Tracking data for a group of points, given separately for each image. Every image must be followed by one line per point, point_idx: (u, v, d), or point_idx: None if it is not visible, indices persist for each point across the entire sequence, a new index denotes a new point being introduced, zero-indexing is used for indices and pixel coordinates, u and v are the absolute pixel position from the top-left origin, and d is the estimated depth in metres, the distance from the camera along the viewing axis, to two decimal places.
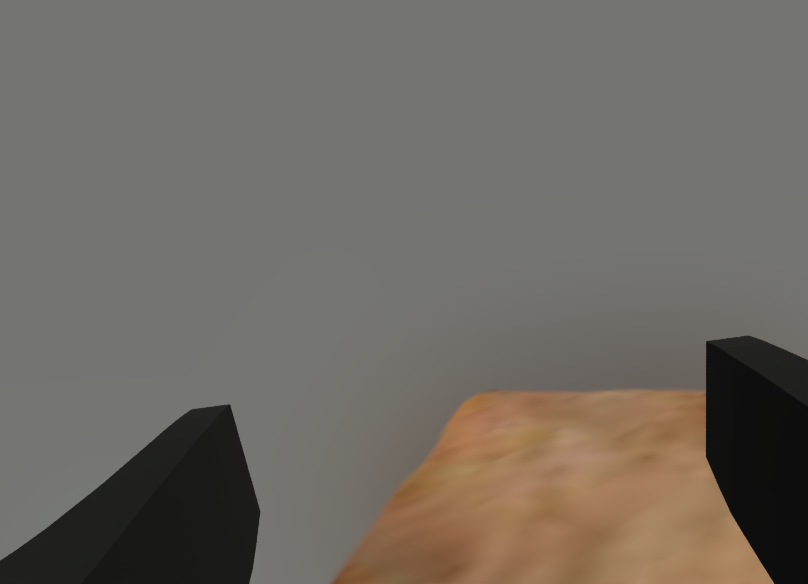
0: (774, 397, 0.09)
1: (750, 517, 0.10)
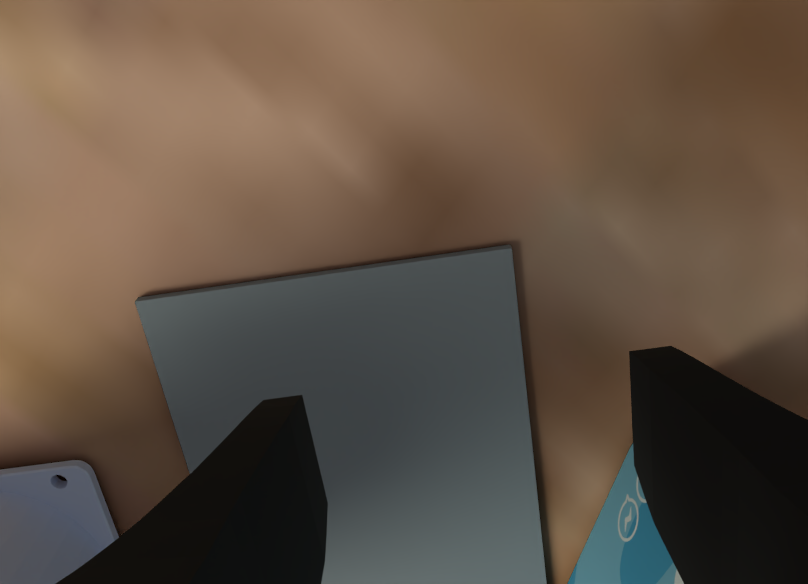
0: (680, 409, 0.09)
1: (668, 526, 0.10)
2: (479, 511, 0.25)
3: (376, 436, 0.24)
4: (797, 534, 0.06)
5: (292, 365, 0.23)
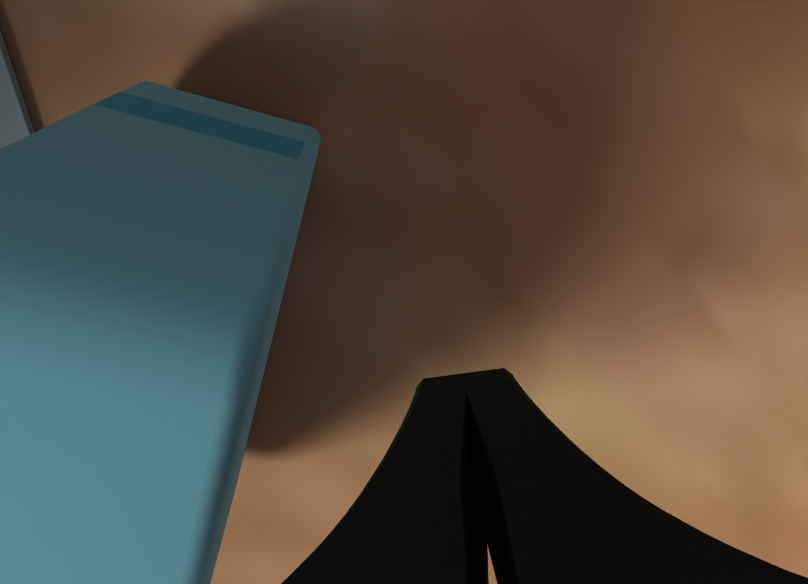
0: (479, 435, 0.09)
1: (491, 548, 0.10)
2: None
3: None
4: (513, 567, 0.07)
5: None
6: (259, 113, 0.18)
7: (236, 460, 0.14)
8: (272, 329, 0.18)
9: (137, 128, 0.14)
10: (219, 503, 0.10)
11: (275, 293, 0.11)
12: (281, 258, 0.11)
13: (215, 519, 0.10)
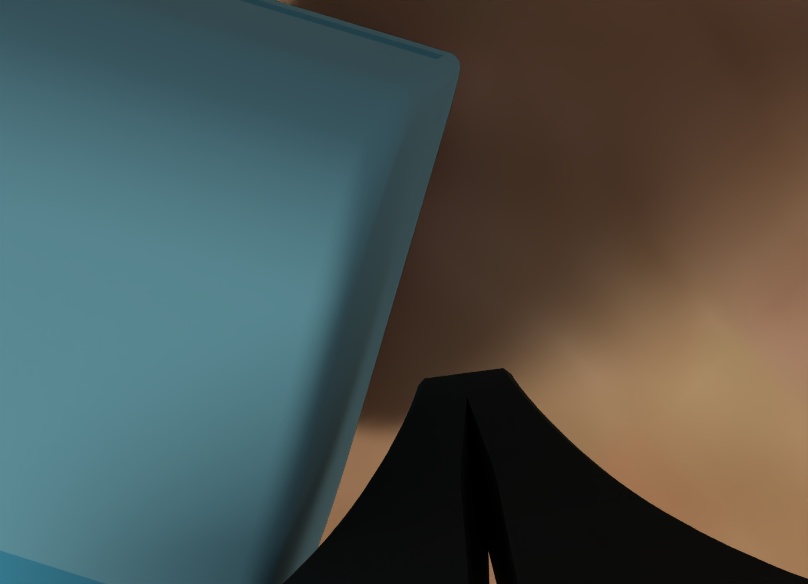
0: (478, 435, 0.09)
1: (491, 548, 0.10)
2: None
3: None
4: (512, 567, 0.07)
5: None
6: None
7: (337, 427, 0.10)
8: (390, 288, 0.14)
9: (241, 4, 0.11)
10: (305, 454, 0.07)
11: (404, 171, 0.08)
12: (416, 106, 0.07)
13: (299, 478, 0.07)
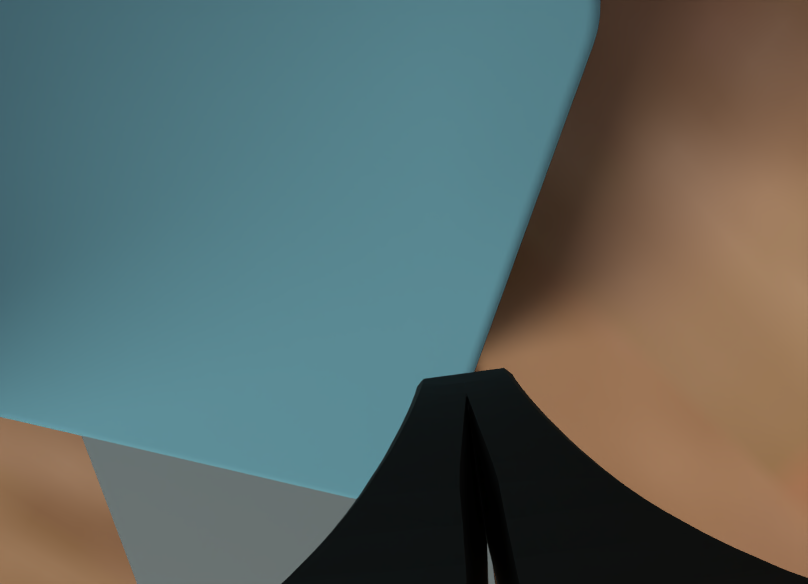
0: (479, 435, 0.09)
1: (491, 547, 0.10)
2: None
3: None
4: (513, 567, 0.07)
5: None
6: None
7: (50, 77, 0.13)
8: (310, 120, 0.13)
9: None
10: None
11: None
12: None
13: None
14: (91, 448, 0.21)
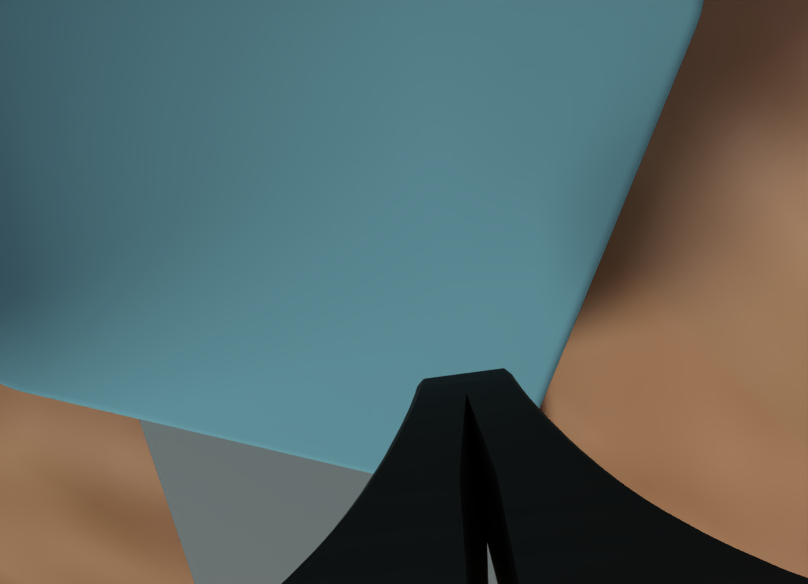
0: (479, 435, 0.09)
1: (491, 547, 0.10)
2: None
3: None
4: (513, 567, 0.07)
5: None
6: None
7: (149, 61, 0.13)
8: (409, 104, 0.13)
9: None
10: None
11: None
12: None
13: None
14: (150, 439, 0.21)
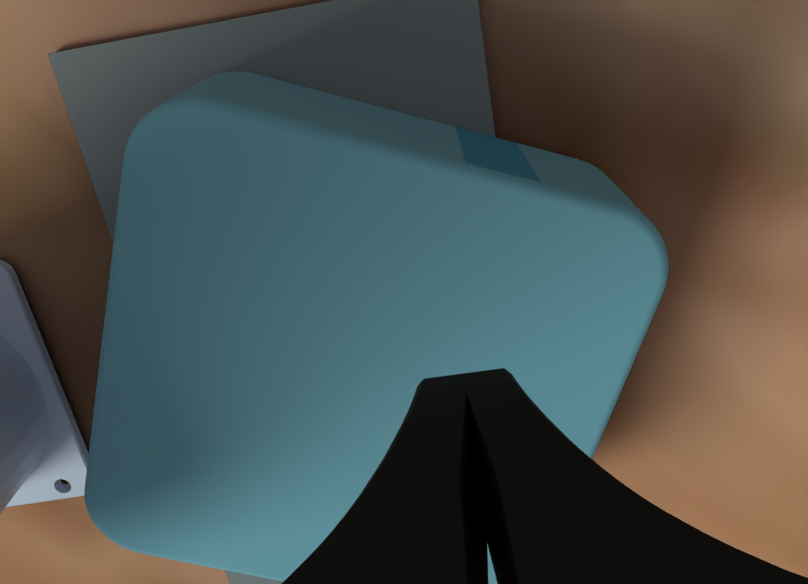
0: (479, 435, 0.09)
1: (491, 548, 0.10)
2: None
3: None
4: (513, 567, 0.07)
5: None
6: (605, 187, 0.17)
7: (250, 326, 0.17)
8: (446, 351, 0.17)
9: (420, 124, 0.19)
10: (120, 230, 0.16)
11: (234, 152, 0.16)
12: (220, 111, 0.15)
13: (119, 242, 0.16)
14: None
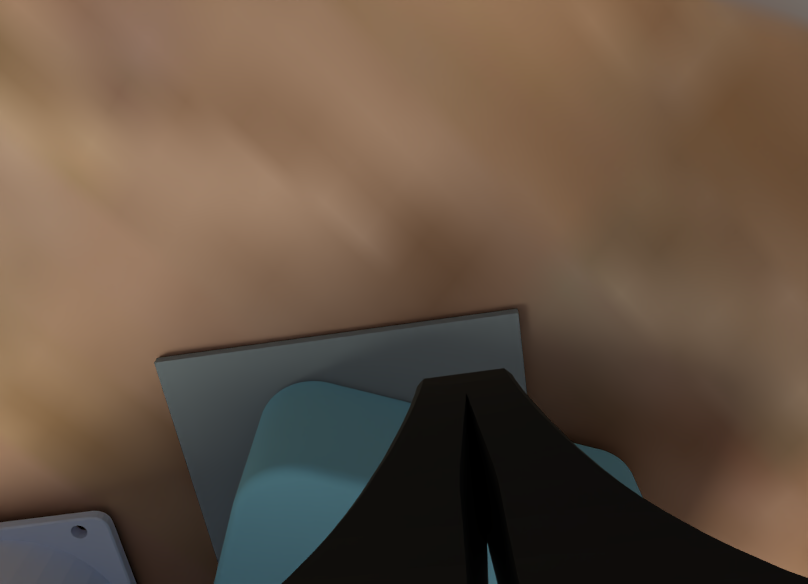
0: (479, 435, 0.09)
1: (491, 547, 0.10)
2: None
3: None
4: (513, 567, 0.07)
5: None
6: None
7: None
8: None
9: None
10: (226, 556, 0.20)
11: (326, 505, 0.19)
12: (316, 477, 0.19)
13: (225, 564, 0.20)
14: None
